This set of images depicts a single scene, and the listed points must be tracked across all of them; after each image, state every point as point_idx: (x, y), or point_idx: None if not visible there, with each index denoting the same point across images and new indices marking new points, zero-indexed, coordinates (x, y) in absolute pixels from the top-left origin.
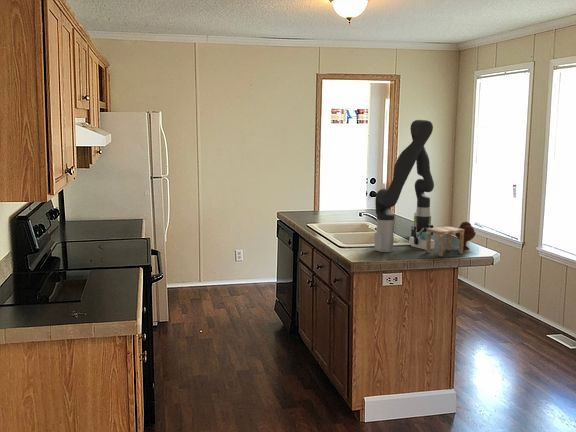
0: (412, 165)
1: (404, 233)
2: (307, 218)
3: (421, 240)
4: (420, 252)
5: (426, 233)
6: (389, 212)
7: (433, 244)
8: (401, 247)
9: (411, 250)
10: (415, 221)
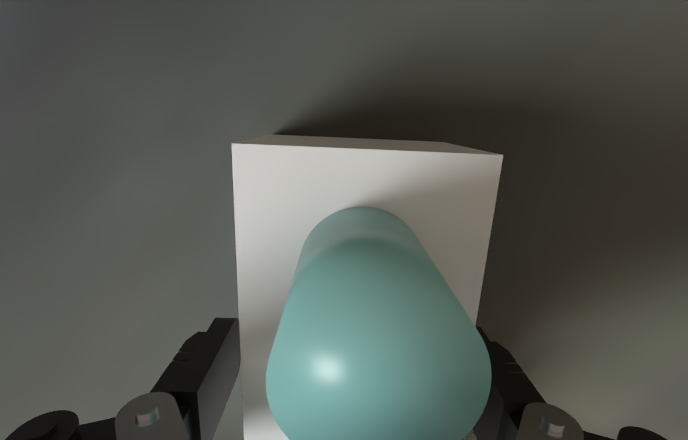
0: None
1: None
2: None
3: (472, 308)
4: (679, 31)
5: (477, 335)
6: None
7: (282, 138)
8: (585, 409)
9: (651, 217)
10: None
